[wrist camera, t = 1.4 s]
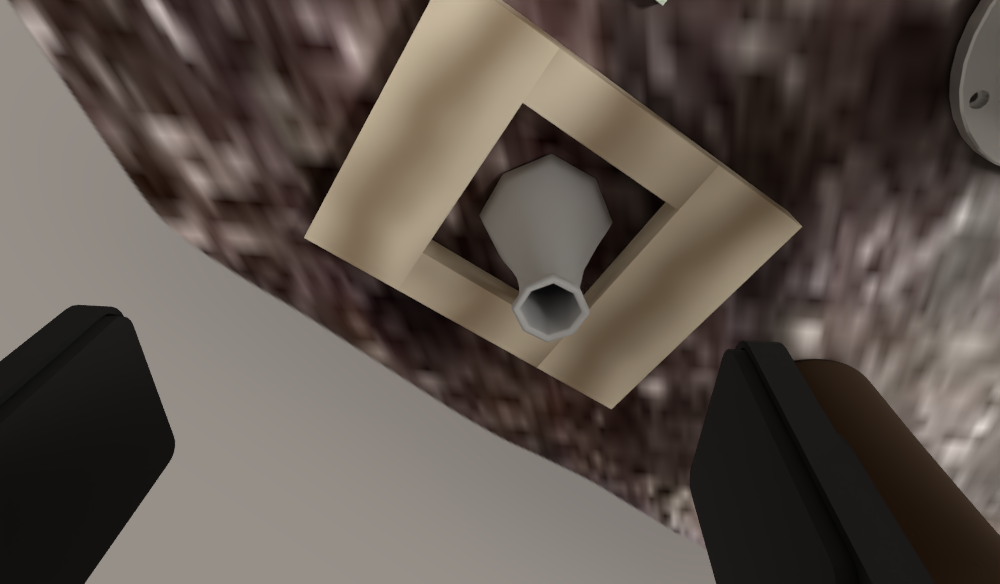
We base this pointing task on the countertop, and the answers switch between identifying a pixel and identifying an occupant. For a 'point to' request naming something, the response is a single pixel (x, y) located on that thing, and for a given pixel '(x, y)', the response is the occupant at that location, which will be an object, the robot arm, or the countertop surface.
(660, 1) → the sage tile
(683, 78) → the countertop surface
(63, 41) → the countertop surface
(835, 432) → the robot arm
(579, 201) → the flask
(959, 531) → the olive oil
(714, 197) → the tan flat rectangular frame
